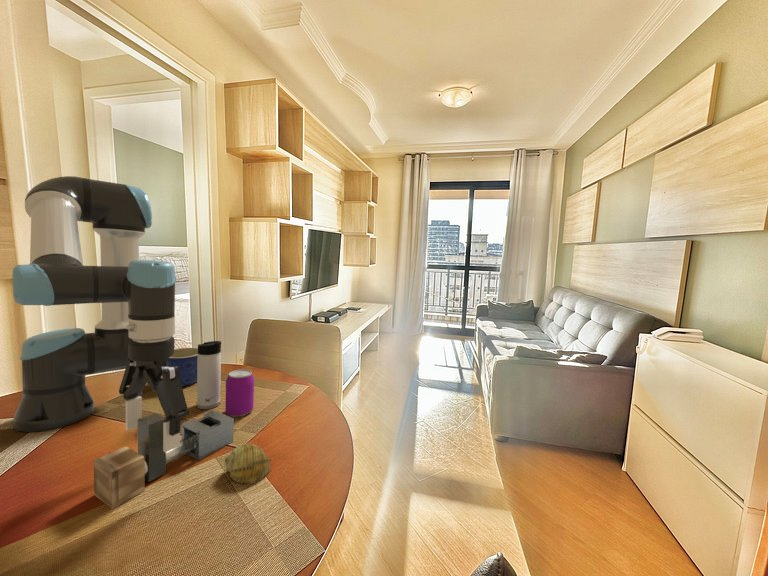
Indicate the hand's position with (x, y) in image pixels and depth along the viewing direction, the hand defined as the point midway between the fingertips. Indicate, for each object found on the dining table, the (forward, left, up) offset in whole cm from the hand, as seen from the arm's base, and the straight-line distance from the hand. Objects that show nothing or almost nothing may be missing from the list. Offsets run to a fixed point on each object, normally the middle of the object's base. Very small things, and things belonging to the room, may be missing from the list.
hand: (151, 437), depth 66 cm
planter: (-42, +32, -8) cm, 53 cm away
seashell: (+16, +11, -9) cm, 21 cm away
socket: (0, -6, -8) cm, 10 cm away
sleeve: (0, +12, -8) cm, 15 cm away
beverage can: (-8, +28, -8) cm, 30 cm away
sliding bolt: (0, +1, -8) cm, 8 cm away
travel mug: (-19, +26, -8) cm, 33 cm away
